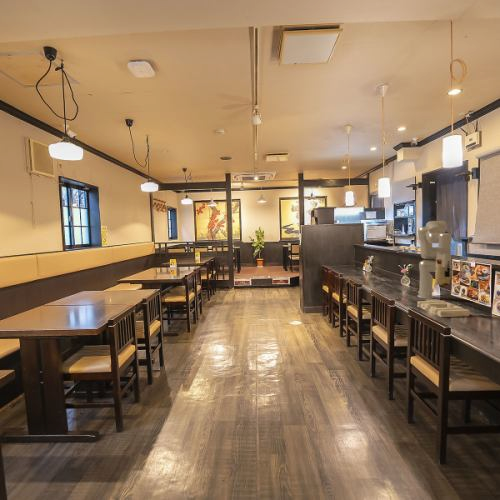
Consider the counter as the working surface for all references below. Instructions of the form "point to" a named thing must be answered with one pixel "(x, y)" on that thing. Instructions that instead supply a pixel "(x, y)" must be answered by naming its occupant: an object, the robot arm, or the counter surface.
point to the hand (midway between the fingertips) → (443, 275)
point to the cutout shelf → (443, 308)
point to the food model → (441, 274)
